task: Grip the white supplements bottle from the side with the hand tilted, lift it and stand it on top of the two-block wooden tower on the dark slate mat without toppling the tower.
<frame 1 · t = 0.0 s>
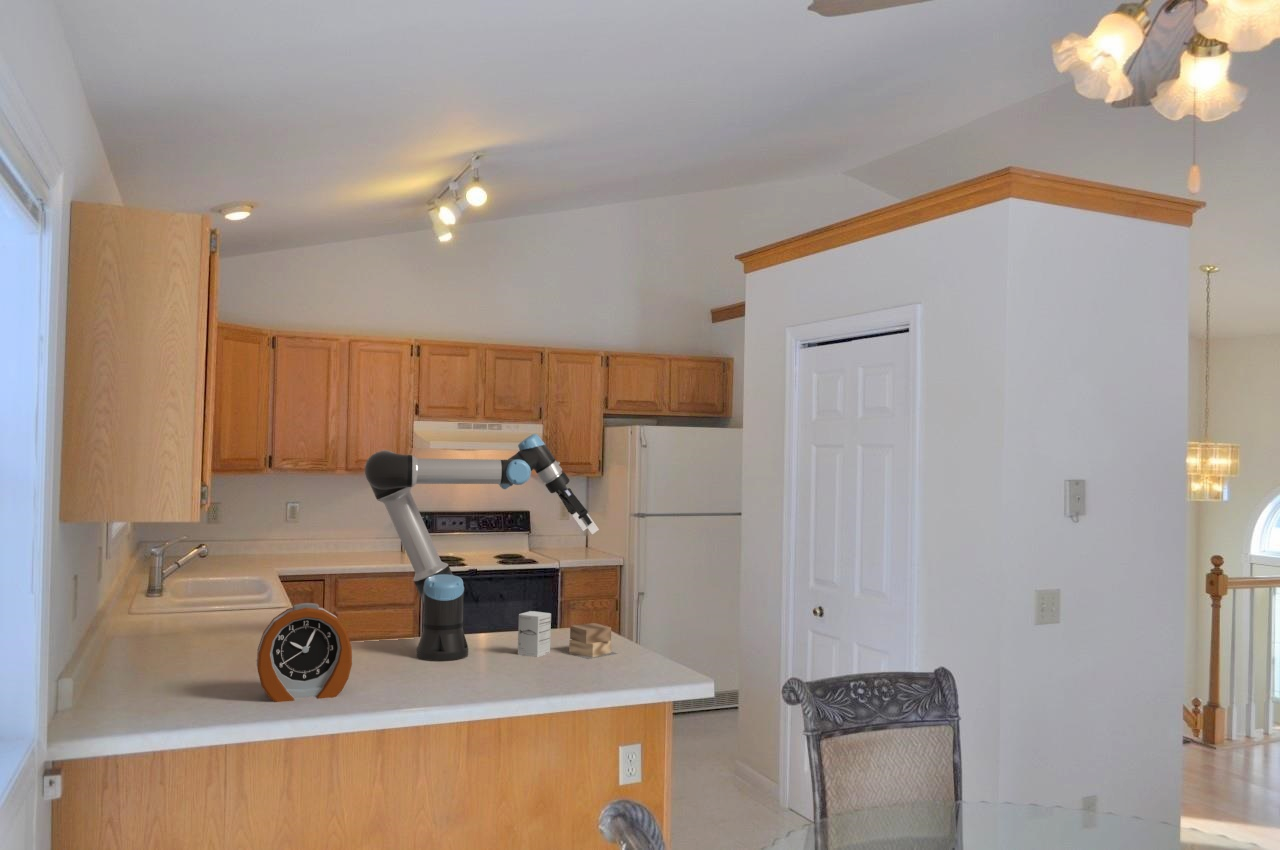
hand: (590, 530, 315), 36 cm above the counter, tool tilted 35°, fingers open, 13 cm apart
supplement box: (534, 655, 292), on the counter
bottom block: (590, 653, 294), resting on slate mat, touching top block
top block: (590, 639, 294), point 4 cm above the counter, touching bottom block
alarm clock: (304, 695, 241), on the counter
slate mat: (590, 654, 294), on the counter
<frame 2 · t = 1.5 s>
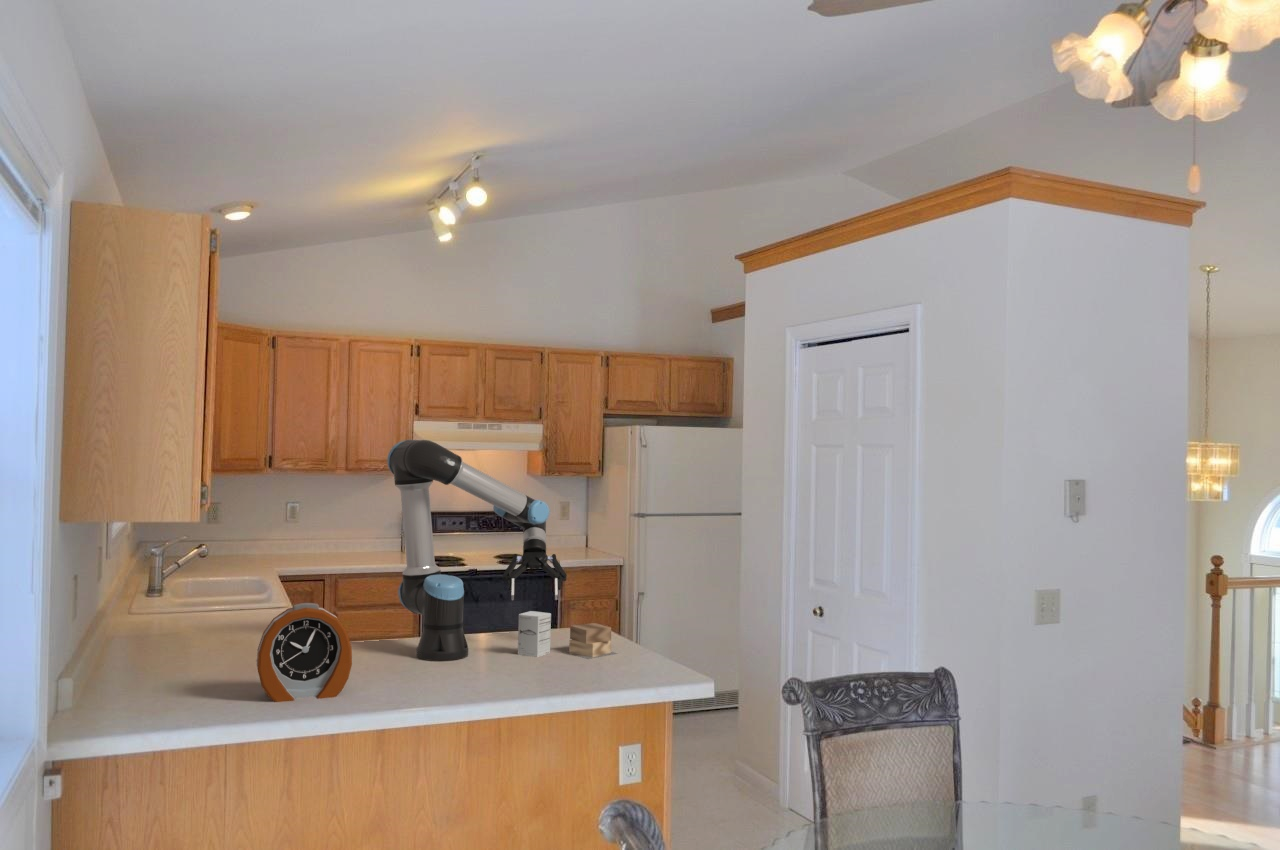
hand: (534, 597, 303), 16 cm above the counter, tool tilted 45°, fingers open, 13 cm apart
nothing on the counter moved.
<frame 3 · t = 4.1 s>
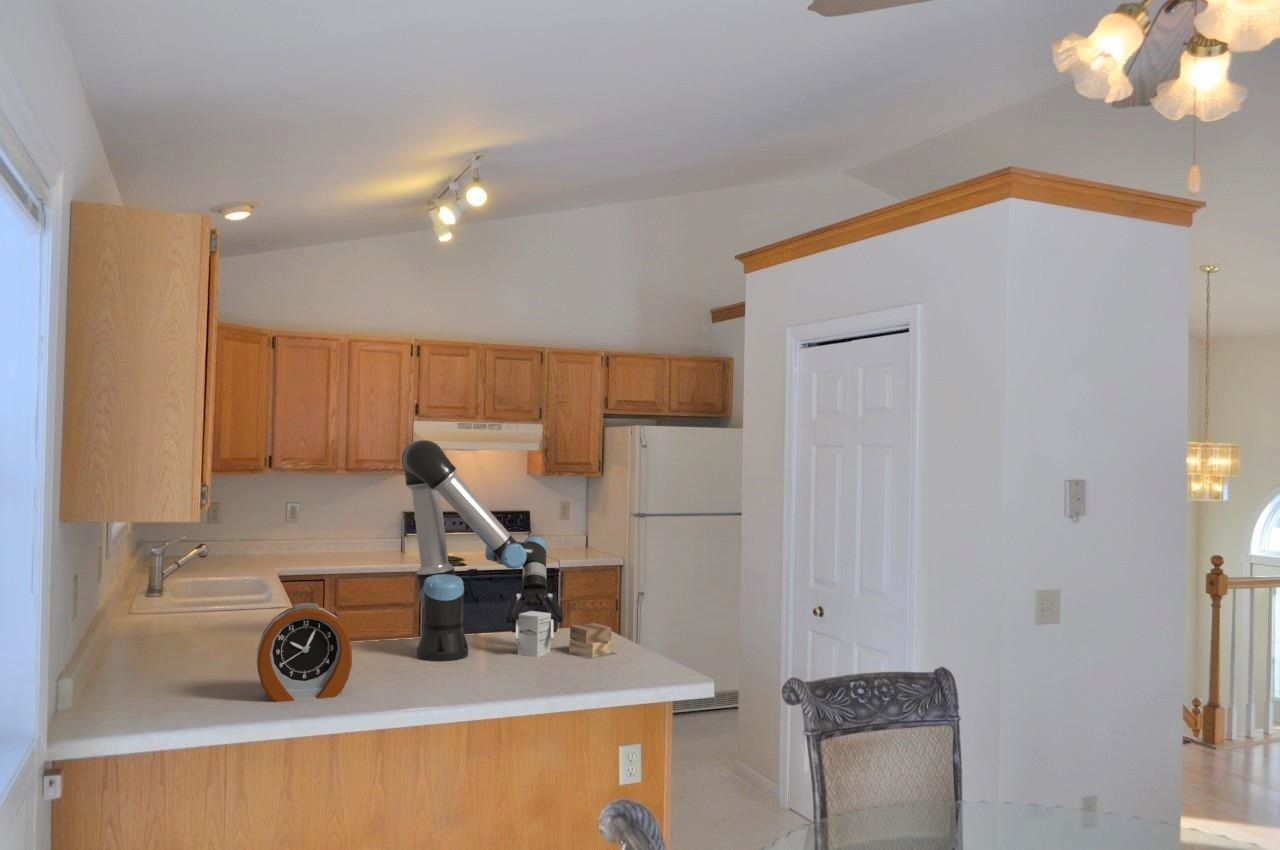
hand: (534, 640, 289), 5 cm above the counter, tool tilted 45°, fingers closed on supplement box, 10 cm apart
supplement box: (534, 655, 292), on the counter, touching gripper
everything else where it was.
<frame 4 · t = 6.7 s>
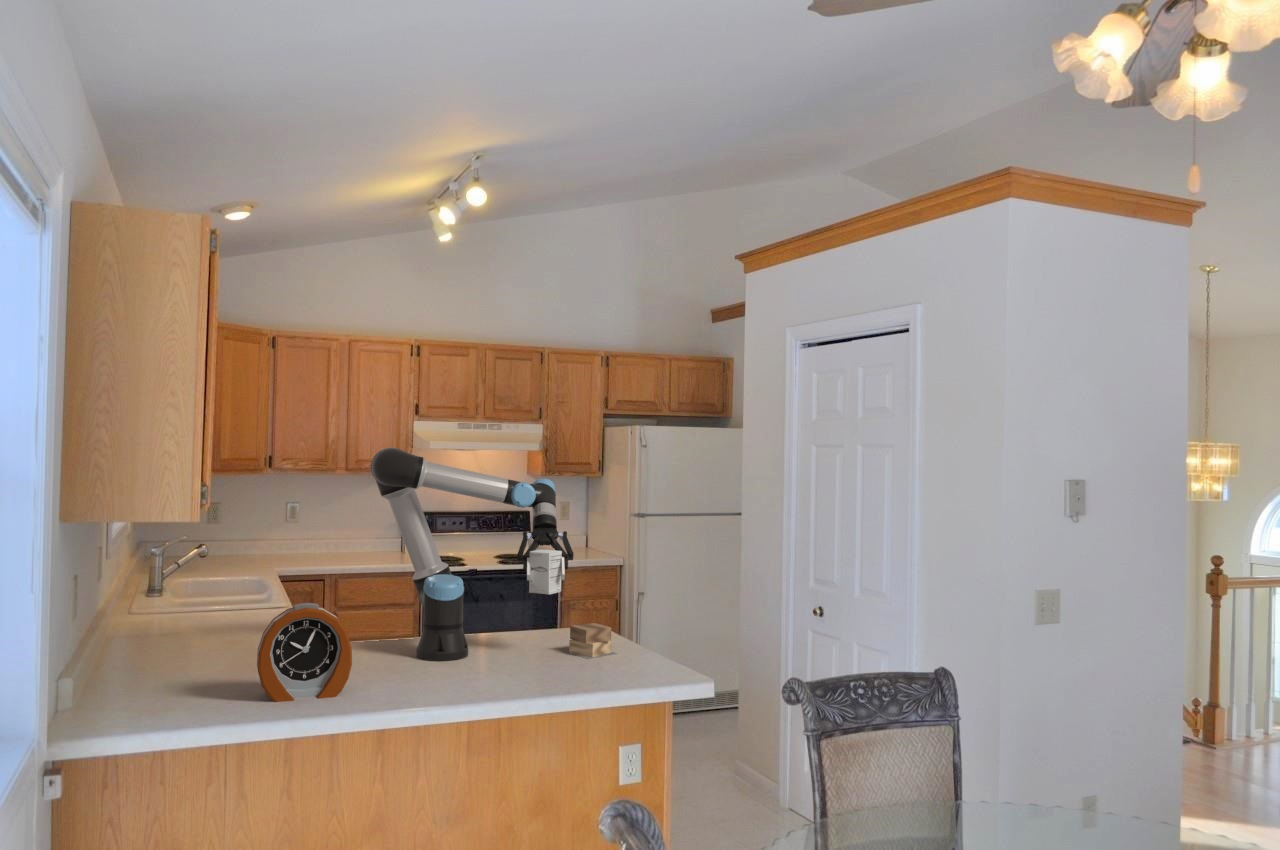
hand: (545, 577, 290), 24 cm above the counter, tool tilted 45°, fingers closed on supplement box, 10 cm apart
supplement box: (545, 593, 293), point 19 cm above the counter, touching gripper
everything else where it was.
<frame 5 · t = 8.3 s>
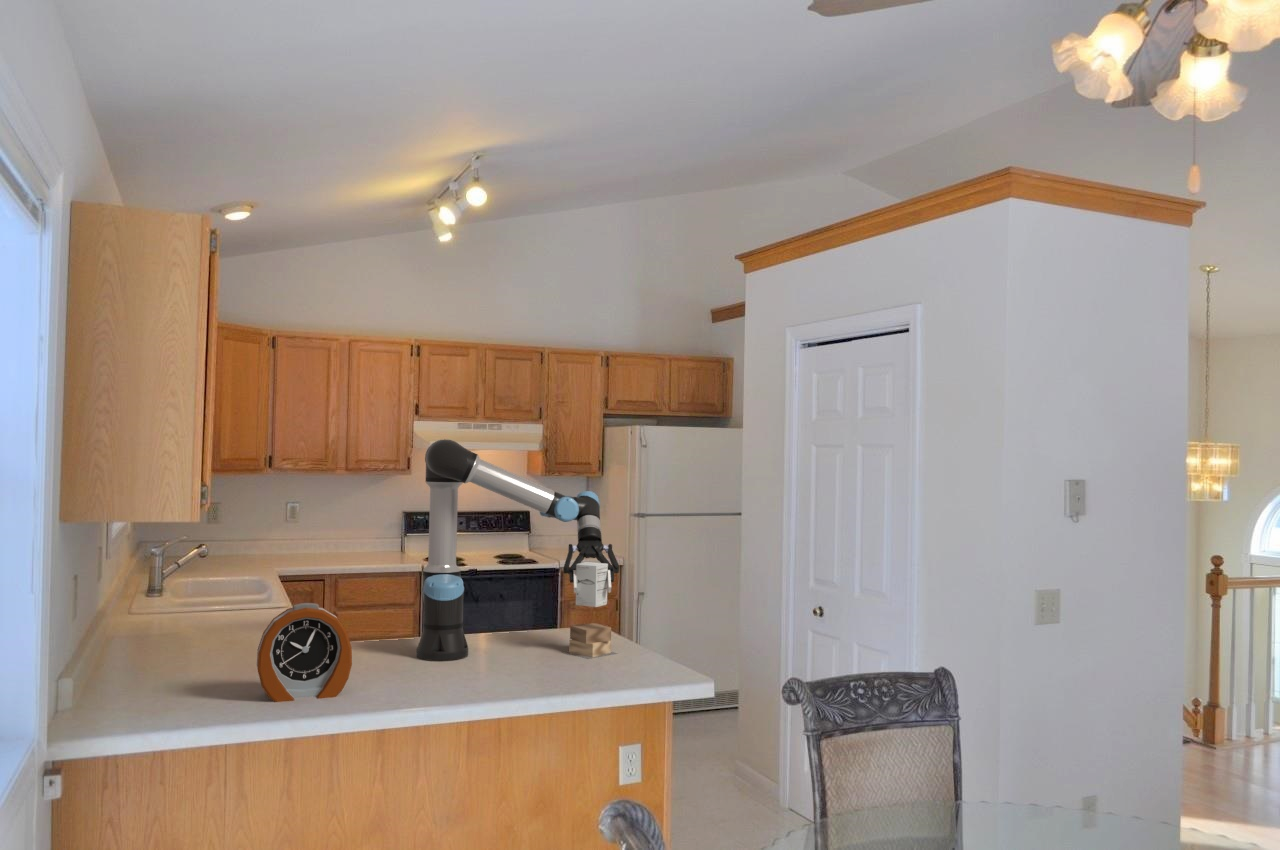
hand: (592, 590, 291), 20 cm above the counter, tool tilted 45°, fingers closed on supplement box, 10 cm apart
supplement box: (591, 605, 294), point 15 cm above the counter, touching gripper
everything else where it was.
when the fingers open (16 cm above the counter, at t = 9.5 s): supplement box drops 3 cm, resting on top block.
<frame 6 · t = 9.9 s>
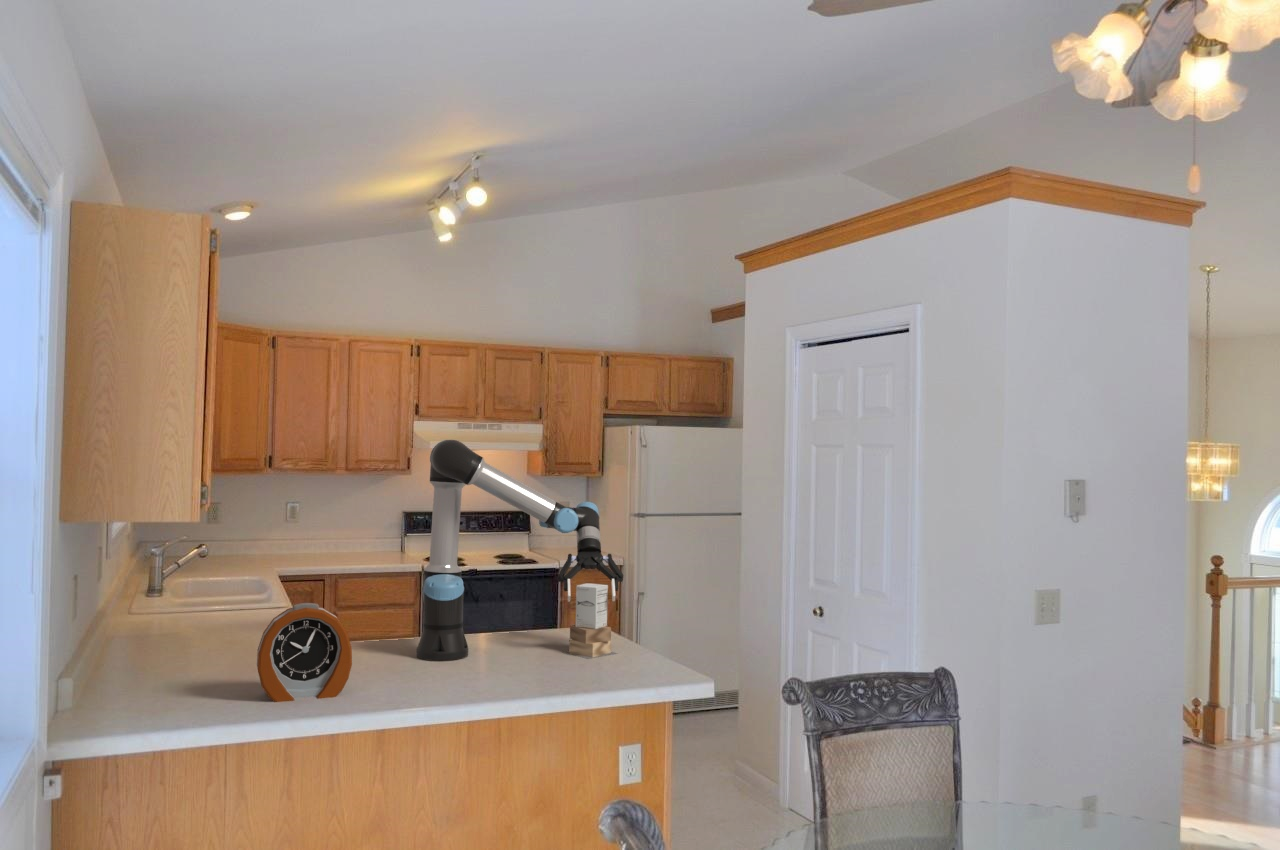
hand: (591, 598, 292), 17 cm above the counter, tool tilted 45°, fingers open, 13 cm apart
supplement box: (591, 627, 294), point 8 cm above the counter, touching top block
top block: (590, 639, 294), point 4 cm above the counter, touching bottom block, supplement box
everything else where it was.
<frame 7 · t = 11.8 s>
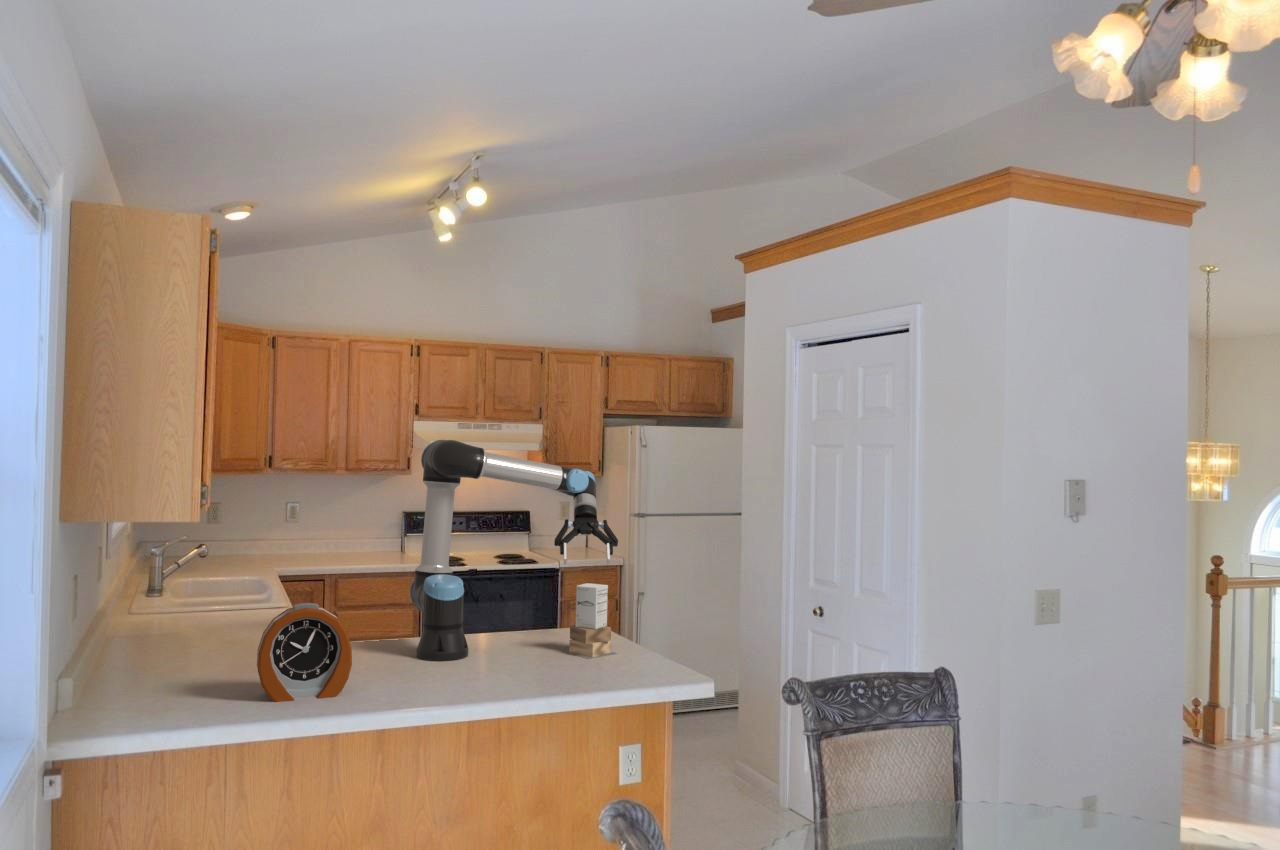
hand: (586, 562, 302), 27 cm above the counter, tool tilted 45°, fingers open, 13 cm apart
nothing on the counter moved.
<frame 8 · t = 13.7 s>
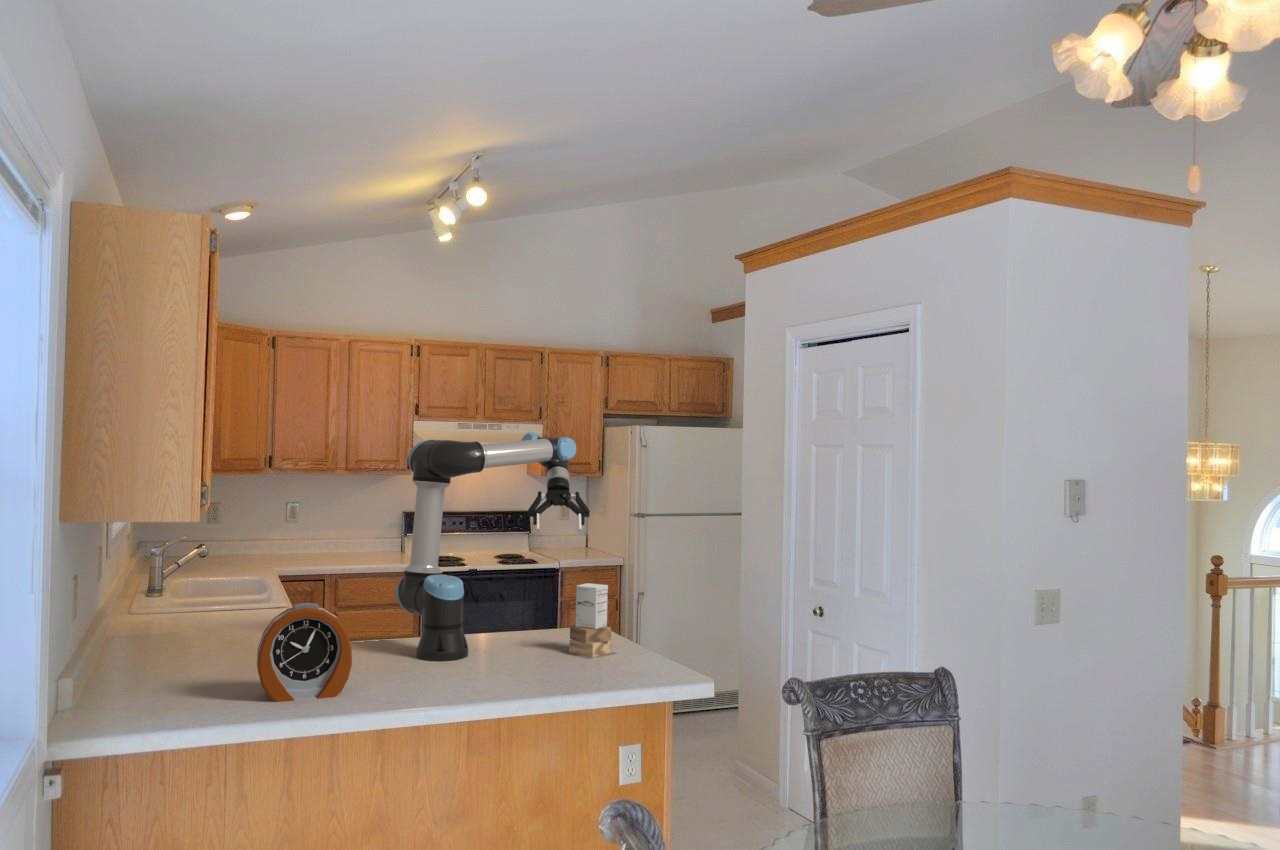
hand: (559, 531, 312), 36 cm above the counter, tool tilted 45°, fingers open, 13 cm apart
nothing on the counter moved.
at the end: supplement box inside the target area on the top block (0.3 cm from its centre), point 3.8 cm above the top block's base; supplement box tilted 0°; top block 0.0 cm off-centre on the bottom block, point 4.0 cm above the bottom block's base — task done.
